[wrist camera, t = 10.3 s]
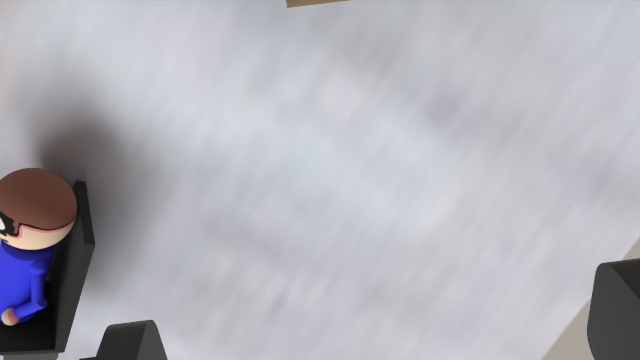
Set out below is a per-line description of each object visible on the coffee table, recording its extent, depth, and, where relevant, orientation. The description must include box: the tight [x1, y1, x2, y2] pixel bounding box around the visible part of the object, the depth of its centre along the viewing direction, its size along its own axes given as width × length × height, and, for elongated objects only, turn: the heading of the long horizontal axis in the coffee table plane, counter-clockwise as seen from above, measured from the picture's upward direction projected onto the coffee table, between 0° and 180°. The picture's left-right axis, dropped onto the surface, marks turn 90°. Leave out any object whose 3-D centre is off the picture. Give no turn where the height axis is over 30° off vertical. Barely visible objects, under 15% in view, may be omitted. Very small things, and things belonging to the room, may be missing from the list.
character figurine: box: [0, 168, 95, 360], centre depth 39 cm, size 8×7×15 cm
